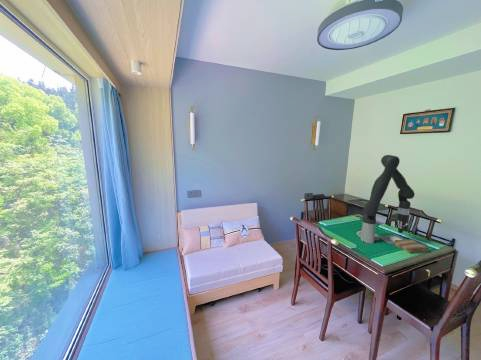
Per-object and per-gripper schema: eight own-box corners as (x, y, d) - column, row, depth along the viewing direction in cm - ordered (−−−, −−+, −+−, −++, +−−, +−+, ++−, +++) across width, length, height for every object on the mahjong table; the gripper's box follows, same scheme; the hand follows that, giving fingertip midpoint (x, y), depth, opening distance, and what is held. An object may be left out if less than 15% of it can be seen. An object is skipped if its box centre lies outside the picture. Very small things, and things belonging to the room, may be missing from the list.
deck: (394, 244, 158) (394, 240, 157) (410, 243, 159) (410, 239, 158) (410, 253, 144) (411, 248, 143) (427, 252, 145) (428, 247, 144)
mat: (376, 236, 173) (376, 236, 173) (397, 235, 174) (397, 235, 174) (389, 243, 159) (389, 243, 159) (411, 242, 160) (411, 242, 160)
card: (389, 238, 167) (389, 236, 167) (396, 238, 167) (396, 236, 167) (398, 243, 158) (399, 241, 158) (405, 243, 158) (405, 241, 158)
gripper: (392, 210, 163) (389, 229, 166) (406, 216, 150) (403, 236, 153) (400, 210, 163) (397, 229, 166) (415, 215, 150) (412, 236, 153)
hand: (400, 232), depth 160 cm, fingers closed
